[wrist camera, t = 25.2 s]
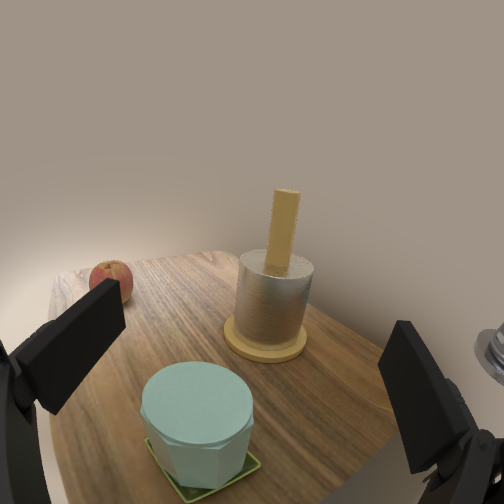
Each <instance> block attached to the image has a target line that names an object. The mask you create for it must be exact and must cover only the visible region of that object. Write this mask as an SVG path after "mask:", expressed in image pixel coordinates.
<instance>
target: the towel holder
mask: <svg viewBox="0 0 504 504" xmlns="http://www.w3.org/2000/svg"><path fill="white" fill-rule="evenodd" d="M300 195H301V193H300V192H297V191H294V190H288V189H275V191H274V198H273V207H272V214H271V222H270V229H269V236H268V244H267V249H260V250H259V249H258V250H252V251H248V252H245V253H244V254H242V255H241V257H240V262H239V272H238V282H237V292H236V302H235V312H234V314H233V315H231V316H230V317H229V318H228V319H227V320H226V322H225V324H224V332H223V333H224V339H225V341H226V343H227V345H228V346H229V347H230V348H231V349H232V350H233V351H234V352H235V353H237V354H238V355H240V356H242V357H244V358H246V359H249V360H252V361H256V362H261V363H281V362H285V361H288V360H291V359H293V358H295V357H297V356H298V355H299V354H300V353H301V352H302V351H303V350H304V348H305V345H306V341H307V333H306V330H305V328H304V327H303V325H302V320H303V316H304V312H305V308H306V304H307V299H308V295H309V290H310V286H311V282H312V277H313V272H314V267H313V265H312V263H310V262H309V261H308V260H306V259H305V258H303V257H301V256H298V255H296V254H293V253H291V252H292V246H293V240H294V234H295V228H296V221H297V215H298V208H299V201H300Z"/></svg>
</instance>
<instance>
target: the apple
mask: <svg viewBox="0 0 504 504" xmlns="http://www.w3.org/2000/svg"><path fill="white" fill-rule="evenodd" d="M106 278H111V279H115V280H119V281H120V289H121V297H122V303H124V302H126V301H127V300H128V299H129V298H130V296H131V294H132V290H133V276H132V273H131V271H130V269H129V268H128V266H127V265H126V264H124V263H123V262H121V261H115V260H114V261H106V262H102V263H100V264H98V265H97V266H96V267H95V268H94V269H93V270H92V272H91V274H90V279H89V288H90V291H91V290H92V289H93V288H94V287H96V286H97V285H98V284H100V283H101V282H102V281H103V280H105V279H106Z"/></svg>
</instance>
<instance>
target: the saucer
mask: <svg viewBox="0 0 504 504" xmlns="http://www.w3.org/2000/svg"><path fill="white" fill-rule="evenodd" d="M145 443H146V445H147V447H148V449H149V450H150V452H151V454H152V455H153V457H154V458H155V460H156V462H157V463H158V461H157V458H156V456H155V453H154V451H153V448H152V446H151V443H150V440H149V438H148V437H147V438H146V439H145ZM158 465H159V466H160V468H161V470H162V471H163V473H164V474H165V475H166V477H167V478H168V480H169V481H170V483H171V484H172V486H173V487H174V489H175V490H176V491H177V493H178V494H179V495H180V497H181V498H182V499H183V501H184V502H185V503H192V502H194V501H197V500H199V499H201V498H203V497H206V496H208V495H210V494H212V493H214V492H216V491H218V490H220V489H222V488H224V487H226V486H228V485H230V484H232V483H233V482H235V481H237V480H239V479H241V478H242V477H244V476H246V475H248V474H249V473H251V472H253V471H254V470H256V469H258V468H259V467H261V463H260V462H259V461H258V460H257V459H256V458H255V457H254V456H253V455H252V454H251V453H250V452H249V451H248V450H247V453H246V457H245V461H244V465H243V469H242V471H241V472H239V473H238V474H237V475H235V476H234V477H233V478H232V479H230V480H229V481H228V482H226V483H225V484H224V485H222V486H221V487H220V488H218V489H206V488H195V487H186V486H180V485H179V484H178V483H177V482H176V481H175V480H174V479H173V478H172V477H171V476H170V475H169V474H168V473H167V472H166V471H165V470H164V468H163V467H162V466H161V465H160V464H159V463H158Z"/></svg>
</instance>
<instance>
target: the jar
mask: <svg viewBox="0 0 504 504" xmlns="http://www.w3.org/2000/svg"><path fill="white" fill-rule="evenodd" d="M140 414H141V417H142V420H143V423H144V426H145V429H146V432H147V435H148V438H149V440H150V443H151V446H152V448H153V451H154V453H155V456H156V458H157V461H158V463H159V464H160V465H161V466H162V467H163V468H164V470H165V471H166V472H167V473H168V474H169V475H170V476H171V477H172V478H173V479H174V480H175V481H176V482H177V483H178V484H179V485H180V486H186V487H195V488H206V489H218V488H220V487H221V486H222V485H224V484H225V483H226V482H228V481H229V480H230V479H232V478H233V477H234V476H235V475H237V474H238V473H239V472H241V471H242V469H243V465H244V461H245V457H246V453H247V449H248V445H249V441H250V436H251V432H252V428H253V424H254V421H253V398H252V395H251V390H250V389H249V388H248V386H247V385H246V383H245V382H244V381H243V380H242V379H241V378H240V377H239V376H238V375H236V374H235V373H233V372H232V371H230V370H228V369H226V368H224V367H221V366H219V365H215V364H211V363H206V362H182V363H177V364H173V365H170V366H168V367H165V368H163V369H162V370H160V371H158V372H157V373H156V374H154V375H153V376H152V377H151V378H150V380H149V381H148V382H147V384H146V385H145V388H144V390H143V394H142V406H141V410H140Z"/></svg>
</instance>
